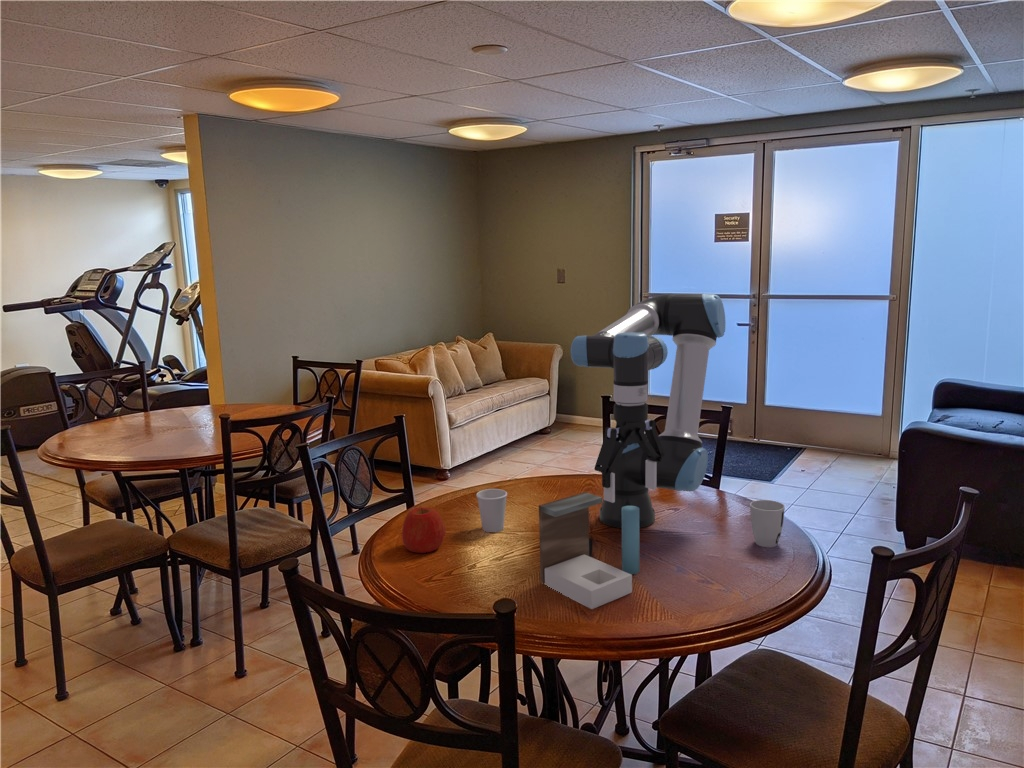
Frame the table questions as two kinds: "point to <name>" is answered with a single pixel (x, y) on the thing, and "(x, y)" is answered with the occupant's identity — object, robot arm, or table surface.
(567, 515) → the awning
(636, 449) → the robot arm
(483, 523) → the dixie cup
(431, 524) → the apple
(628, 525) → the peg
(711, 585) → the table surface
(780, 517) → the cup
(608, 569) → the socket
